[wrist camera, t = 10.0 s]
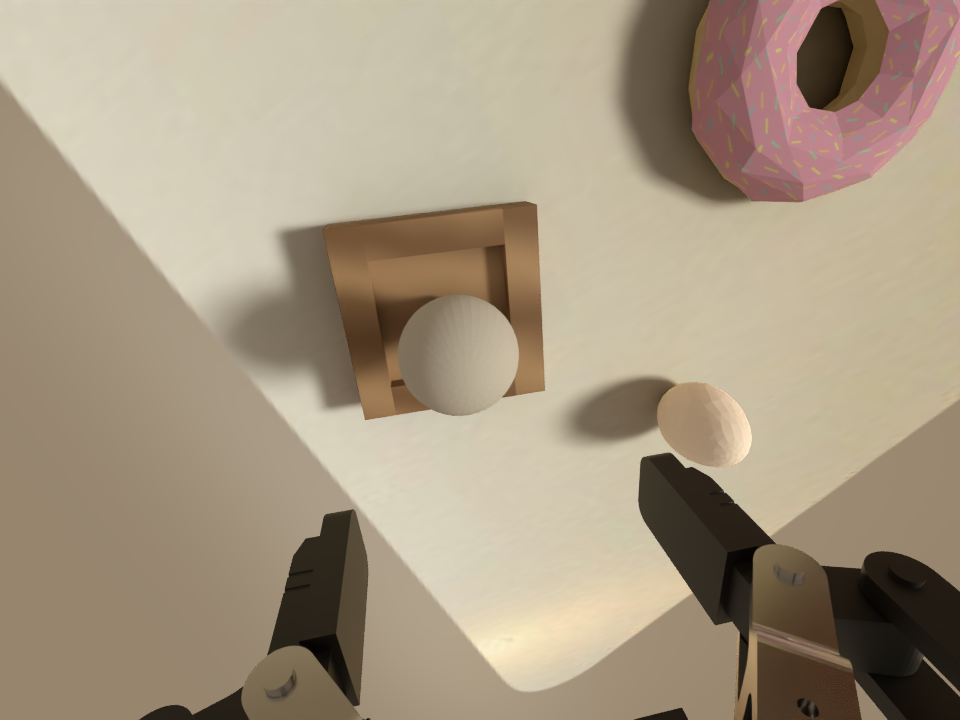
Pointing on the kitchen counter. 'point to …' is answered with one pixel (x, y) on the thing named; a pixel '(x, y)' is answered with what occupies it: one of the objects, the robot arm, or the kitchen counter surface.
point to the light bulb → (458, 355)
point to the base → (434, 288)
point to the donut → (782, 108)
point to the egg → (704, 424)
